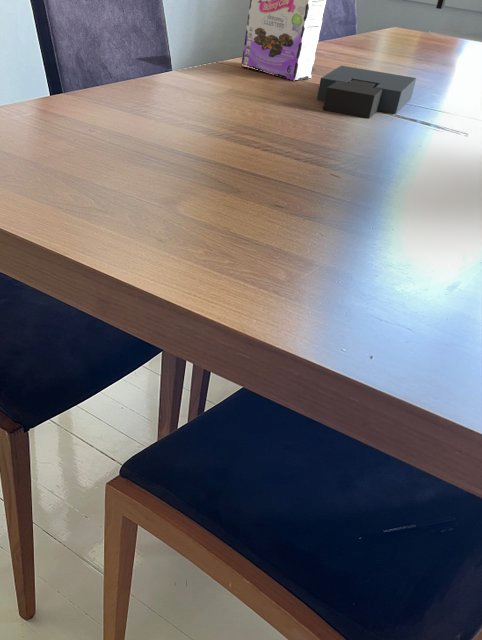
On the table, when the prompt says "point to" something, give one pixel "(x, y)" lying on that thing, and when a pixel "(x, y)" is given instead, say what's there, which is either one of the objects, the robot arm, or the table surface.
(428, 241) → the table surface
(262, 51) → the candy box
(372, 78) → the base pad
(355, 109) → the pad
